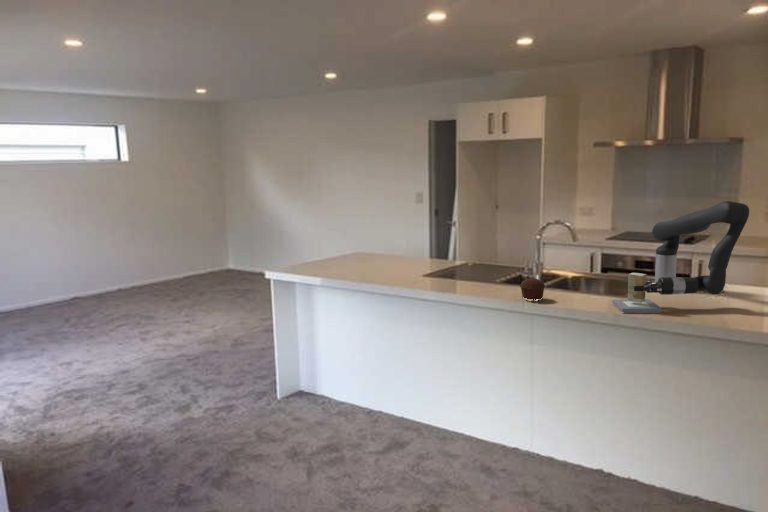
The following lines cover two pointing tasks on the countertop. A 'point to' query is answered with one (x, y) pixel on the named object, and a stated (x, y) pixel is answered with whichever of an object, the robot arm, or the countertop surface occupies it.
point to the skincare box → (636, 280)
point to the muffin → (532, 288)
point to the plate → (637, 306)
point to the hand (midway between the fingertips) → (631, 286)
